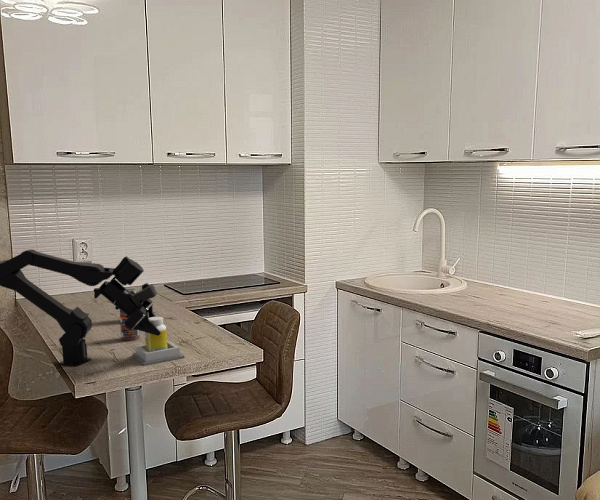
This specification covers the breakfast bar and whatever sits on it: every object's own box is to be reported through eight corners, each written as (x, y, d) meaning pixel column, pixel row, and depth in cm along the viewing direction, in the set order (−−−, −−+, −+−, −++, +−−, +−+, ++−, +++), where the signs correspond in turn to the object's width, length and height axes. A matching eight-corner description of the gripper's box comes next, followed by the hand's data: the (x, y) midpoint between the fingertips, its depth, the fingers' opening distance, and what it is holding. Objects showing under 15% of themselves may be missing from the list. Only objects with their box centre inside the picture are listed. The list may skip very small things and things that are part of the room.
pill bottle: (172, 352, 174) (170, 316, 172) (159, 358, 168) (156, 321, 167) (155, 350, 176) (153, 315, 175) (142, 356, 171) (139, 320, 169)
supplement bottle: (121, 342, 190) (118, 308, 189) (121, 337, 196) (119, 304, 194) (140, 340, 192) (137, 306, 190) (139, 335, 197) (137, 303, 196)
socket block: (144, 365, 164) (143, 355, 164) (132, 355, 174) (131, 345, 174) (184, 357, 170) (183, 347, 170) (170, 348, 180) (170, 339, 180)
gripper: (134, 281, 160) (177, 318, 162) (143, 271, 178) (181, 304, 181) (106, 311, 160) (149, 347, 162) (118, 298, 178) (157, 331, 181)
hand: (160, 331), depth 172 cm, fingers open, 7 cm apart
